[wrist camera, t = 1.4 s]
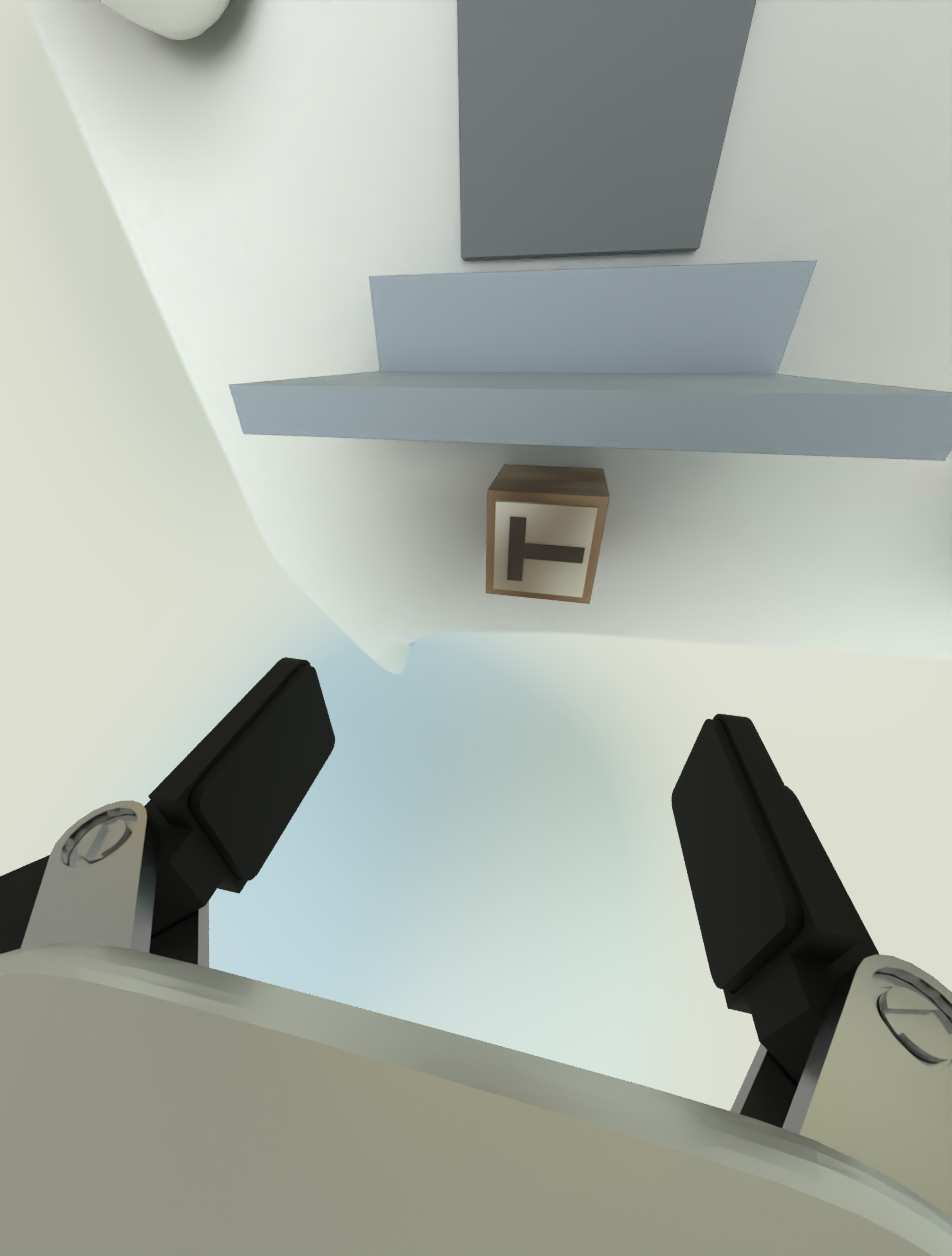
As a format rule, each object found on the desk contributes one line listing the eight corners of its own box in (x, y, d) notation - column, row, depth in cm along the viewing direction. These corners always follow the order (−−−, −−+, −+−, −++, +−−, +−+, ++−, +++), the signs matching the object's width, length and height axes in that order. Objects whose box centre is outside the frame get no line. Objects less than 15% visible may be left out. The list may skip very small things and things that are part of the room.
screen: (806, 264, 15) (1149, 131, 6) (757, 406, 17) (944, 460, 9) (376, 279, 18) (174, 204, 9) (389, 398, 20) (243, 433, 11)
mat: (805, -233, 10) (817, -262, 10) (694, 251, 15) (699, 247, 15) (459, -157, 12) (454, -178, 11) (464, 260, 17) (461, 257, 16)
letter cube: (603, 468, 20) (609, 499, 16) (587, 560, 23) (589, 606, 19) (504, 464, 21) (486, 492, 17) (501, 552, 24) (484, 596, 20)
